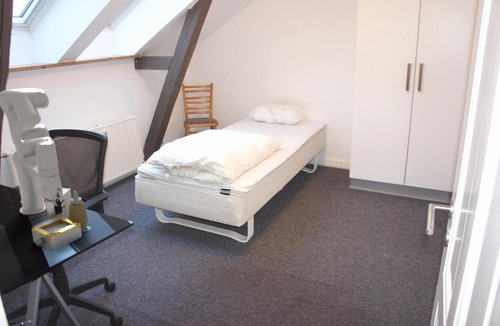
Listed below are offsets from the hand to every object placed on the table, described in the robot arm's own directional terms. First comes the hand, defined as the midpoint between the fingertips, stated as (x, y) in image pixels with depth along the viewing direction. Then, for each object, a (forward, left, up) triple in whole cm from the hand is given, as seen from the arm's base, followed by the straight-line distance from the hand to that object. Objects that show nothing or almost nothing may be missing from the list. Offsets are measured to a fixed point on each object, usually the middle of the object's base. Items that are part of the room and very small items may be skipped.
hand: (54, 211), depth 166 cm
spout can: (0, +1, -2) cm, 2 cm away
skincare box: (-13, +12, -14) cm, 22 cm away
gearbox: (0, 0, -13) cm, 13 cm away
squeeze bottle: (-2, +12, -14) cm, 18 cm away
